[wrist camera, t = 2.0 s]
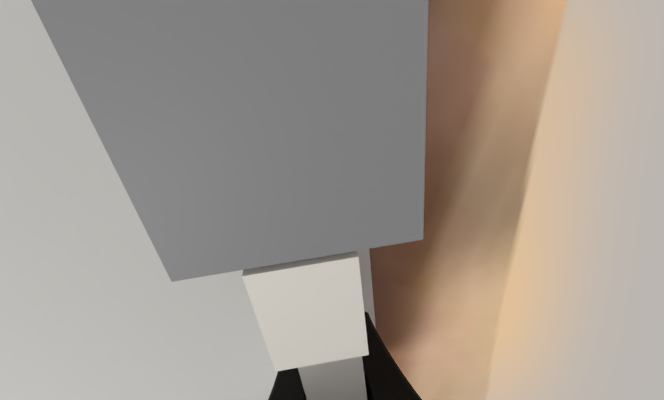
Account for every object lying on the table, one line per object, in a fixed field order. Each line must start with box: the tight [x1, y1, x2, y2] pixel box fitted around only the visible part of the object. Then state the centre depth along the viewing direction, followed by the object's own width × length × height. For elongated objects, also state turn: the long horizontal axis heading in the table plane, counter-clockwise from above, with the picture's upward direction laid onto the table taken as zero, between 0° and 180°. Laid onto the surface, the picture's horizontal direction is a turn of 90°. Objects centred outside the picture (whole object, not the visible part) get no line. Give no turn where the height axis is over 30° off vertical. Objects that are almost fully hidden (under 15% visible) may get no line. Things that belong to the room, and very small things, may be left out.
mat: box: [0, 0, 376, 400], centre depth 12 cm, size 20×18×1 cm
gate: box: [31, 0, 428, 400], centre depth 9 cm, size 17×3×6 cm, turn 7°
